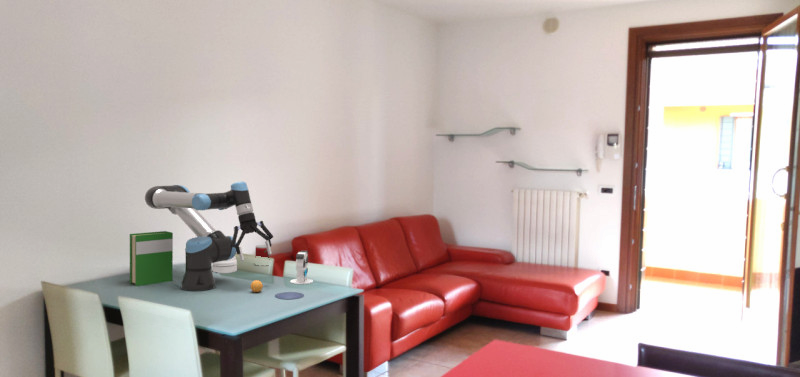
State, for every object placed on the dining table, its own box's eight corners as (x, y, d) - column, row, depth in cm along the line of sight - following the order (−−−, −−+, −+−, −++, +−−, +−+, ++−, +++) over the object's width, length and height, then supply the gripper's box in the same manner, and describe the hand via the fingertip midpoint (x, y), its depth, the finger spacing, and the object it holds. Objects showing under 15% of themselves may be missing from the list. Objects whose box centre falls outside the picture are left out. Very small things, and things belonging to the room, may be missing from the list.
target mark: (269, 297, 258) (269, 297, 258) (283, 291, 270) (283, 290, 270) (295, 300, 254) (295, 300, 254) (308, 294, 266) (308, 293, 266)
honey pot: (241, 271, 314) (241, 238, 313) (219, 274, 304) (220, 240, 303) (229, 267, 322) (229, 235, 321) (207, 270, 313) (207, 237, 312)
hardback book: (136, 286, 273) (136, 235, 271) (129, 283, 278) (129, 233, 276) (172, 280, 286) (172, 232, 284) (165, 278, 291) (165, 231, 289)
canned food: (266, 266, 327) (266, 247, 326) (252, 265, 328) (253, 246, 328) (271, 264, 334) (272, 245, 334) (258, 263, 336) (259, 244, 335)
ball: (248, 292, 266) (248, 281, 265) (254, 290, 271) (254, 278, 271) (258, 294, 264) (258, 282, 264) (264, 291, 269) (265, 279, 269)
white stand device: (310, 284, 285) (310, 254, 284) (287, 284, 286) (288, 253, 285) (314, 279, 297) (315, 250, 296) (292, 278, 298) (293, 249, 297)
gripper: (222, 217, 265) (232, 262, 263) (273, 207, 279) (283, 250, 277) (217, 220, 271) (228, 264, 269) (267, 210, 285) (278, 252, 283)
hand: (256, 257), depth 273 cm, fingers open, 13 cm apart
